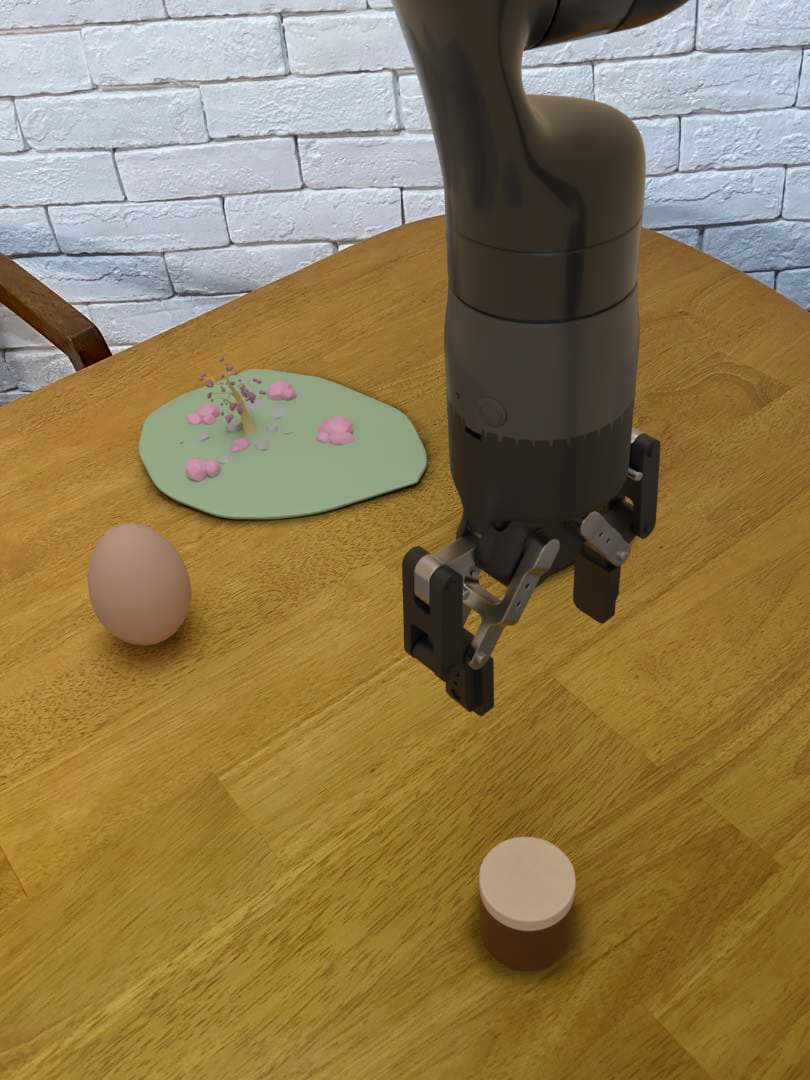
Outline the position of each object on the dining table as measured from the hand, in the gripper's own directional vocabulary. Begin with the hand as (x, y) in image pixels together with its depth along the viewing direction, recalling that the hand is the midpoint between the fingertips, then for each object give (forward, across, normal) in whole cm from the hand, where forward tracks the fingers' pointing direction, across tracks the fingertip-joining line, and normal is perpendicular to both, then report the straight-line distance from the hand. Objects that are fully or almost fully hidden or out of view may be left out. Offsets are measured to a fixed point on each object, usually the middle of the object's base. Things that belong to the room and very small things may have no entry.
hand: (534, 656), depth 56 cm
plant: (+16, -14, -42) cm, 47 cm away
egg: (+16, +7, -30) cm, 35 cm away
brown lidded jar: (+16, +4, +4) cm, 17 cm away
